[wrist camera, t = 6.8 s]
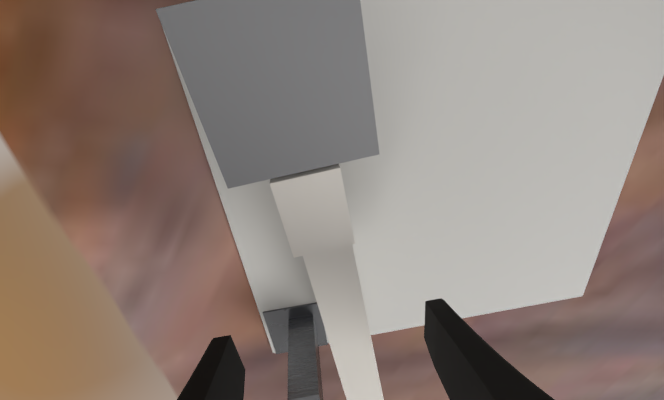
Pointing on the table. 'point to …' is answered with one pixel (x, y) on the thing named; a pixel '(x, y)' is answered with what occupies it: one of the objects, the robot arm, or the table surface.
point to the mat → (475, 156)
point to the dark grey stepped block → (299, 347)
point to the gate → (291, 135)
